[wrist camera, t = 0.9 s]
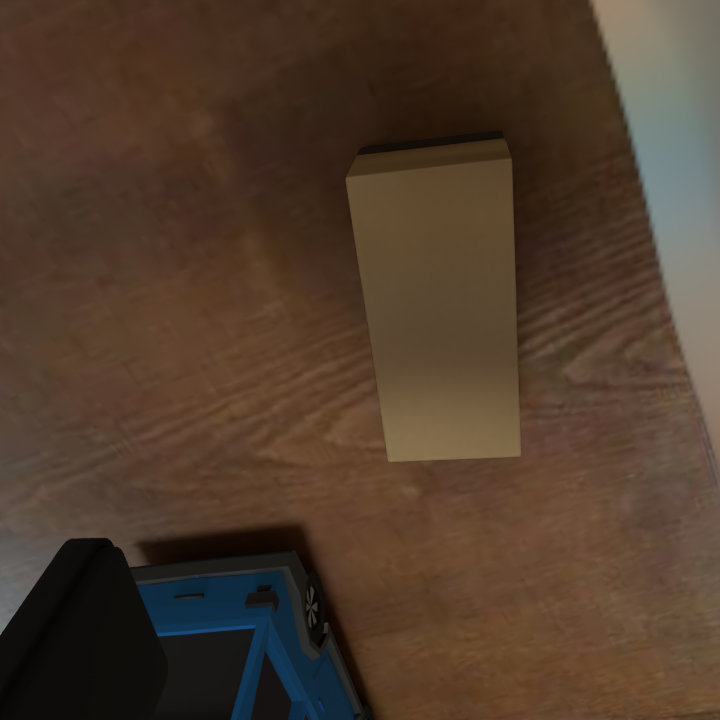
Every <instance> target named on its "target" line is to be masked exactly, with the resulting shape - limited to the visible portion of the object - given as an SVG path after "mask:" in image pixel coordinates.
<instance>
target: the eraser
mask: <svg viewBox="0 0 720 720" xmlns="http://www.w3.org/2000/svg"><path fill="white" fill-rule="evenodd" d="M345 180H346V187H347V193H348V200H349V207H350V213H351V220H352V226H353V233H354V240H355V246H356V253H357V259H358V266H359V273H360V279H361V286H362V292H363V299H364V306H365V312H366V319H367V325H368V332H369V339H370V345H371V352H372V358H373V365H374V372H375V378H376V385H377V391H378V398H379V405H380V411H381V418H382V424H383V431H384V437H385V444H386V451H387V457H388V461H389V462H400V461H425V460H449V459H474V458H498V457H520V456H521V427H520V396H519V365H518V333H517V302H516V270H515V239H514V207H513V176H512V158H511V155H510V152H509V149H508V146H507V143H506V140H505V137H504V134H503V132H502V131H495V132H487V133H478V134H470V135H462V136H453V137H445V138H437V139H429V140H420V141H412V142H404V143H395V144H387V145H379V146H370V147H362V148H360V150H359V152H358V154H357V156H356V157H355V159H354V161H353V163H352V165H351V167H350V169H349V171H348V173H347V175H346V178H345Z"/></svg>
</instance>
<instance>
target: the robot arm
mask: <svg viewBox="0 0 720 720" xmlns="http://www.w3.org/2000/svg"><path fill="white" fill-rule="evenodd" d="M167 677H168V661H167V657H166V655H165V653H164V650H163V648H162V645H161V643H160V641H159V638H158V636H157V633H156V631H155V628H154V626H153V624H152V621H151V619H150V616H149V614H148V612H147V609H146V607H145V604H144V602H143V599H142V597H141V595H140V592H139V590H138V587H137V585H136V583H135V580H134V578H133V575H132V573H131V571H130V568H129V566H128V563H127V561H126V558H125V556H124V554H123V552H122V550H121V549H120V548H118V547H114V545H113V544H112V542H111V541H110V540H109V539H107V538H80V539H70V540H68V541H66V542H65V543H64V544H63V545H62V547H61V548H60V550H59V551H58V552H57V554H56V555H55V557H54V558H53V560H52V561H51V563H50V564H49V565H48V567H47V568H46V570H45V571H44V573H43V574H42V576H41V577H40V578H39V580H38V581H37V583H36V584H35V586H34V587H33V589H32V590H31V592H30V593H29V594H28V596H27V597H26V599H25V600H24V602H23V603H22V605H21V606H20V607H19V609H18V610H17V612H16V613H15V615H14V616H13V618H12V619H11V620H10V622H9V623H8V625H7V626H6V628H5V629H4V631H3V632H2V634H1V635H0V720H151V719H152V717H153V714H154V712H155V709H156V707H157V704H158V702H159V699H160V697H161V695H162V692H163V690H164V687H165V684H166V681H167Z"/></svg>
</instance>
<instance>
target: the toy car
mask: <svg viewBox="0 0 720 720" xmlns="http://www.w3.org/2000/svg"><path fill="white" fill-rule="evenodd" d="M130 571H131V573H132V575H133V578H134V580H135V583H136V585H137V587H138V590H139V592H140V595H141V597H142V599H143V602H144V604H145V607H146V609H147V612H148V614H149V616H150V619H151V621H152V624H153V626H154V628H155V631H156V633H157V636H158V638H159V641H160V643H161V645H162V648H163V650H164V653H165V655H166V657H167V661H168V677H167V681H166V684H165V687H164V690H163V692H162V695H161V697H160V699H159V702H158V704H157V707H156V709H155V712H154V714H153V717H152V719H151V720H373V715H372V710H371V709H370V708H369V707H368V706H366V705H361V702H360V700H359V698H358V695H357V693H356V690H355V688H354V685H353V683H352V680H351V678H350V675H349V673H348V670H347V668H346V665H345V663H344V660H343V658H342V656H341V653H340V651H339V648H338V646H337V643H336V641H335V638H334V636H333V633H332V631H331V628H330V626H329V623H324V614H325V602H324V597H323V592H322V587H321V582H320V579H319V578H318V577H317V576H316V575H315V574H314V572H313V571H312V570H308V571H305V570H304V568H303V566H302V564H301V562H300V560H299V558H298V556H297V554H296V552H295V550H289V551H280V552H270V553H260V554H250V555H240V556H230V557H220V558H210V559H201V560H192V561H183V562H174V563H166V564H157V565H148V566H139V567H130Z"/></svg>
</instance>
